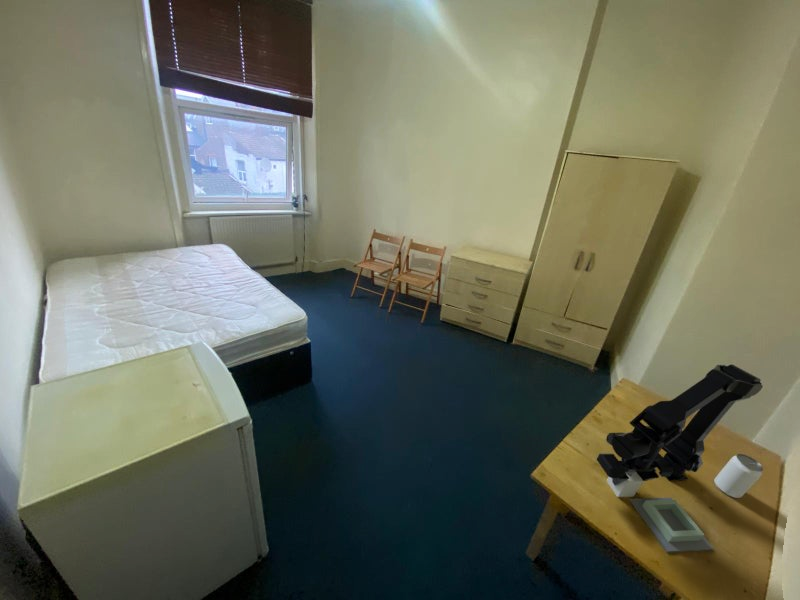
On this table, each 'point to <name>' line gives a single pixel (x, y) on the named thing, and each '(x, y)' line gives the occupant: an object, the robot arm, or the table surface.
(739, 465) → the can
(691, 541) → the charging dock
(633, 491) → the plug
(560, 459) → the table surface
